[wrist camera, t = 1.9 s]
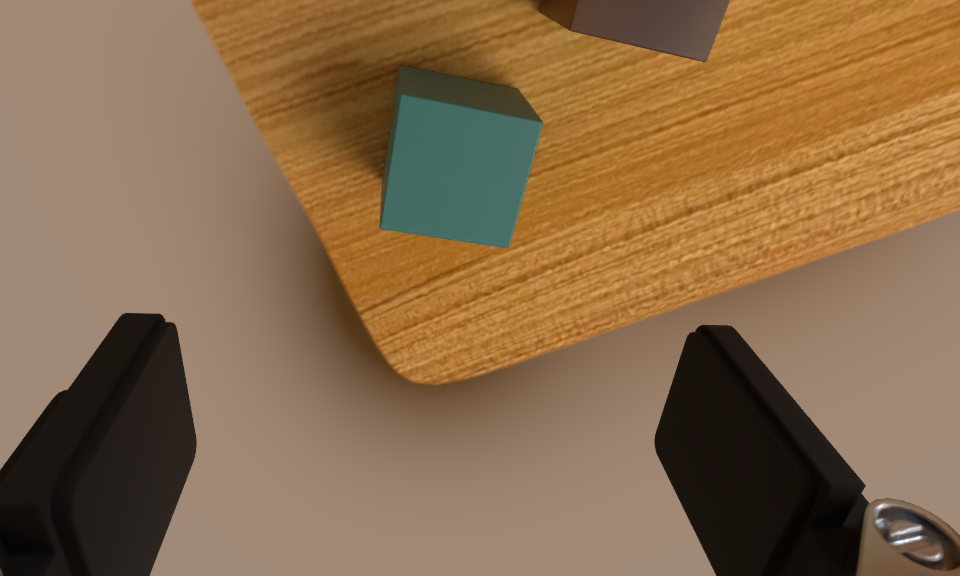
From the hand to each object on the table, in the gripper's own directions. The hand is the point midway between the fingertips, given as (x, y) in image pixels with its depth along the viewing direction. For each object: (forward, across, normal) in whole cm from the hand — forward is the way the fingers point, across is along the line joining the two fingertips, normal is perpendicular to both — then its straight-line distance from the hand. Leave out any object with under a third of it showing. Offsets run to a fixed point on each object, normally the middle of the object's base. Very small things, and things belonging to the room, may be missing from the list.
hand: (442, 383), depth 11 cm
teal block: (+17, -1, 0) cm, 17 cm away
